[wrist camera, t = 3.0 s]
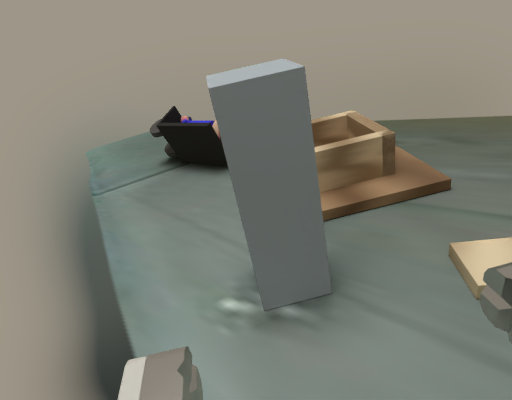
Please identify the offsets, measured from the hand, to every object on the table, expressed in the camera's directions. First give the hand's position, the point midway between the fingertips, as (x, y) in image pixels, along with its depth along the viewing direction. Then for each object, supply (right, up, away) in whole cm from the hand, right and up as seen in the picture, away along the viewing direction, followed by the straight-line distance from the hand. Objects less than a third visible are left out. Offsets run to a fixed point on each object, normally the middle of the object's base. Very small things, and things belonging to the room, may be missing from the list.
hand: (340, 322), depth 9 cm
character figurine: (-9, +9, +40) cm, 42 cm away
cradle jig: (+6, +6, +28) cm, 29 cm away
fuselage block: (0, -2, +15) cm, 15 cm away
